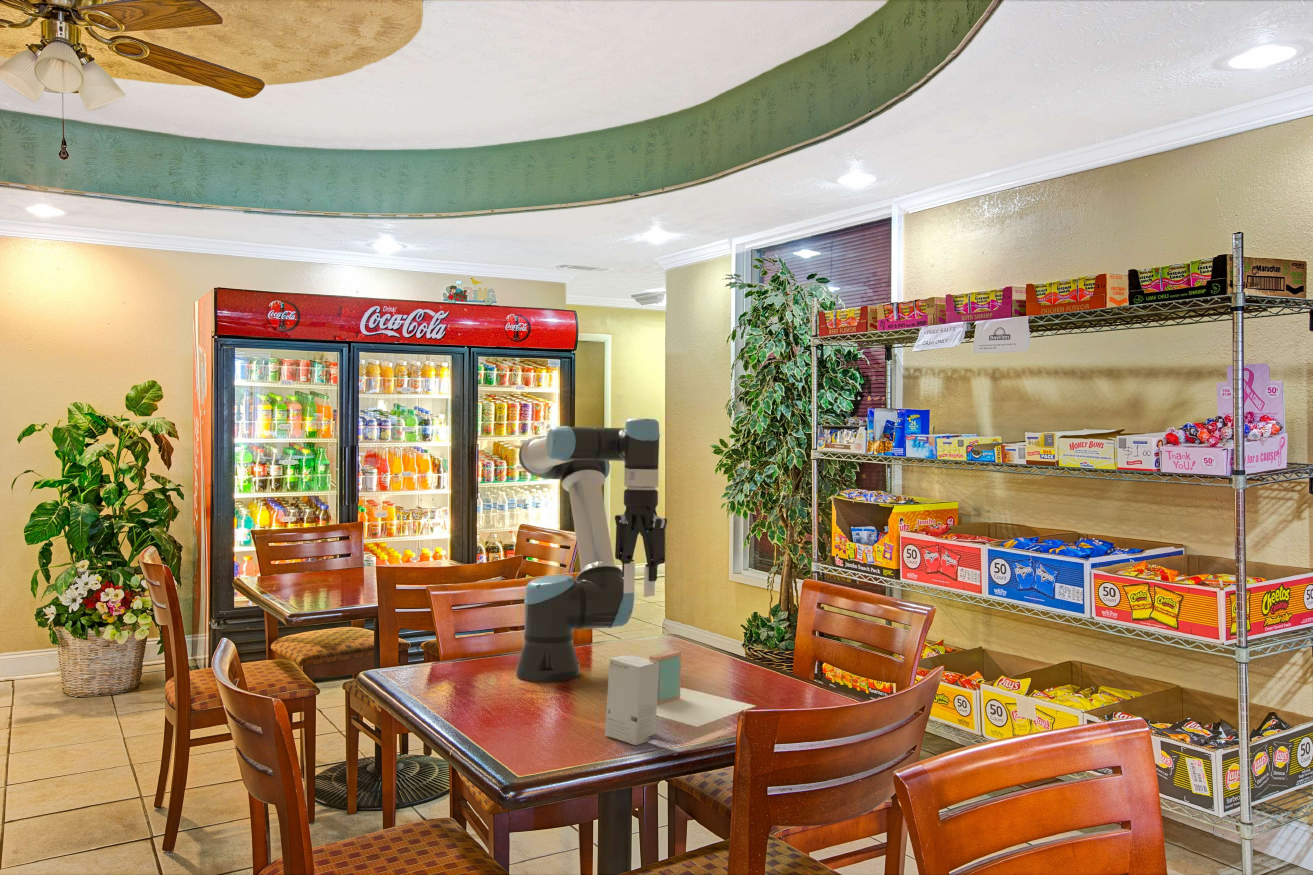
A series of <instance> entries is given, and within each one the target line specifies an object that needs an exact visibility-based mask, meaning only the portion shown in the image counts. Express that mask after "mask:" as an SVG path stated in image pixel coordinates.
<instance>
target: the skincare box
mask: <svg viewBox="0 0 1313 875" xmlns="http://www.w3.org/2000/svg"><path fill="white" fill-rule="evenodd" d="M608 666H609V669H608V681H607V695H606V696H607V697H606V711H605V714H606V715H605V724H604V725H605V726H604V735H605V737H607V738H610V739H611V738H612V739H615V740H618V741H622V742H625V743H627V744H630V745H633V746H638V745H641V744H644V743H647V742H651V741H654V740H655V738H654V737H651V736H654V735H656V727H657V726H656V724H657V716H656V711H657V695H658V678H659V663H658V662H655V661H651V660H650V659H648V658H645V657H641V656H640V657H639V656H635V655H632V654H624V655H619V656H615V657H610V658H609V664H608Z"/></svg>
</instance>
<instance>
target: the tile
mask: <svg viewBox="0 0 1313 875" xmlns="http://www.w3.org/2000/svg"><path fill="white" fill-rule="evenodd" d="M649 660H651V661H655V662H658V663H659V678H658V695H657V705H660V704H663V703H667V702H670V701H673V700H676V699H680V687H681V686H682V685H681V682H682V680H681V679H682V677H681V676H682V675H681V674H682V671H681V670H682V668H681V667H682V651H679V650H676V649H675V650H670V651H665V652H662V653H661V652H660V653H657V654H653V655H650V656H649Z"/></svg>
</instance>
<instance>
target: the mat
mask: <svg viewBox="0 0 1313 875" xmlns="http://www.w3.org/2000/svg"><path fill="white" fill-rule="evenodd" d="M755 707H756V705H755V704H752V703H747V702H742V701H738V700H734V699H731V698H726V697H722V696H717V695H714V694H709V693H707V692H701V691H697V690H693V689H691V688H690V689H689V688H685V687H681V686H680V699H676V700H673V701H670V702H667V703H663V704H660V705H657V711H656V717H660V718H664V719H667V720H671V721H674V722H679V723H682V724H685V725H689V726H692V727H696V728H698V727H701V726H703V725H706V724H709V723H712V722H715V721H718V720H721V719H724V718H726V717H730V716H732V715H736V714H737V713H740V712H743V711H742V710H744V711H746V710H750V709H752V708H755Z"/></svg>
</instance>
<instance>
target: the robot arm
mask: <svg viewBox="0 0 1313 875" xmlns="http://www.w3.org/2000/svg"><path fill="white" fill-rule="evenodd" d="M660 438H661V434H660V424H659V421H658V420H657V419H655V418H643V417H642V418H640V417H639V418H638V417H637V418H634V417H633V418H631V417H630V418H627V420H625V427H596V426H595V427H594V426H593V427H585V426H568V425H562V426H561V425H560V426H552V427H550V428H549V429H548V431H547V434H546V435H542V436H540V435H539V436H538V435H537V436H533V437H531V438H529V439H526V440H525V441H524V442H523V443H522V444H521V446H520V447H519V450H518V451H519V452H518V461H519V464H520V466H521V467H522V468H523V470H524V471H525V472H526V473H528V474H530V475H532V476H534V477H536V478H540V479H545V480H560V481H561V487H562V488H563V489H564V491H567V492H568V495H569V500H570V506H571V507H570V508H571V513H572V514H571V515H572V519H573V520H572V521H573V525H574V526H573V527H574V534H575V539H576V546H577V552H578V559H579V566H580V572H578V574H577V576H576V578H575V577H574V576H573V575H571V574H553V575H546V576H541V577H538V578H535V579H532V580H531V581H529V582H528V583H527V585H526V587H525V593H524V594H525V595H524V596H525V597H524V600H523V601H524V632H523V633H524V635H523V636H524V637H523V638H524V642H523V646H522V647H521V648H522V649H521V652H520V654H519V658H518V661H517V663H516V668H515V675H516V677H518V678H519V679H521V680H525V681H530V682H541V683H552V682H555V683H556V682H564V681H569V680H571V679H572V680H573V679H575V678H577V677H579V676H580V669H581V668H580V663H579V660H578V656H577V652H576V649H575V645H574V637H573V636H574V630H585V629H586V630H588V629H590V630H591V629H606V628H608V629H612V628H617V627H623V626H625V625H627V624H628V622H629V621H630V619H631V617H632V615H633V611H634V610H633V609H634V605H635V580H636V579H635V576H636V573H635V572H636V570H635V569H636V563H635V560H634V559H633V558H634V553H635V549H636V546H637V540H638V536H639V534H640V536H641V538H642V542H643V547H644V552H645V558H646V564H644V567H643V569H644V571H643V572H644V573H643V597H644V598H649V597H654V596H655V594H656V593H655V592H656V590H655V589H656V588H655V586H656V581H657V580H658V567H659V566H660V565H664V564H665V562H666V527H667V524H668V518H666V517H664V518H663V517H660V516H658V514H657V510H656V509H657V507H658V505H659V491H658V489H656V488H658V487H659V461H660V460H659V457H660V451H659V450H660ZM610 461H614V462H624V476H623V478H624V480H623V481H624V487H626V488H625V489H624V490H623V505H624V506H625V510H624V512H623V514H616V515H614V521H615V526H616V528H615V546H614V547H615V548H614V549H615V550H614V554H613V548H612V543H611V537H610V536H611V535H610V530H609V525H608V520H607V515H606V514H607V513H606V508H605V503H604V497H603V491H602V486H603V485H604V484H605V482H606V479H607V477H609V474H610V470H611V464H610ZM614 557H615V559H614ZM615 560H619V561H620V562H621V565H622V566H621V568H622V569H621V568H620V567H619V566H618V565H615Z"/></svg>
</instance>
